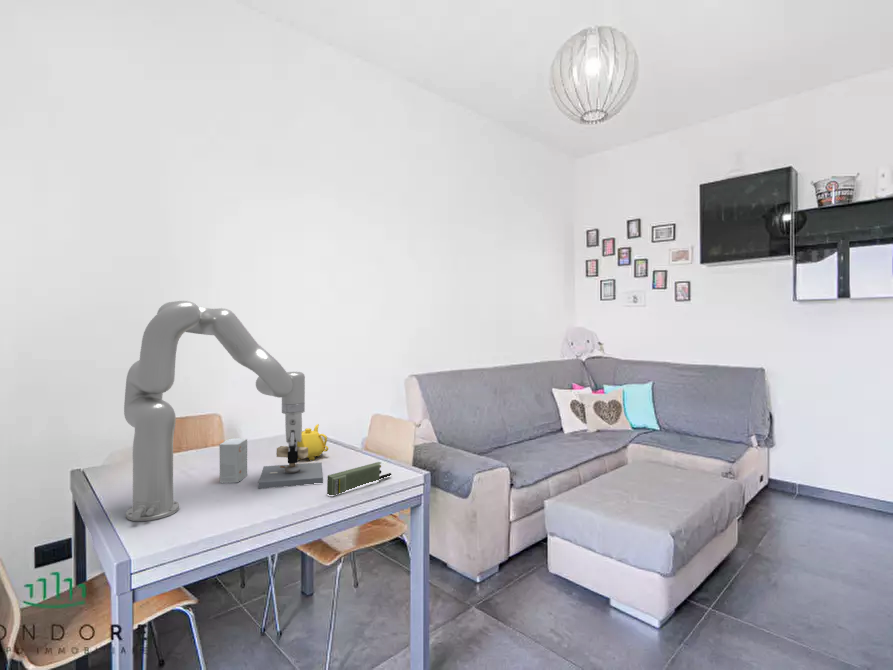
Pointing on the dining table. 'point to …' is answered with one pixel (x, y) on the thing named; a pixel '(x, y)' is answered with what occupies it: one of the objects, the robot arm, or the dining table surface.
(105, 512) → the dining table surface
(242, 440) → the small box
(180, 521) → the dining table surface
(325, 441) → the teapot
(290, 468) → the t key
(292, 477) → the plate
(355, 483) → the handheld radio
